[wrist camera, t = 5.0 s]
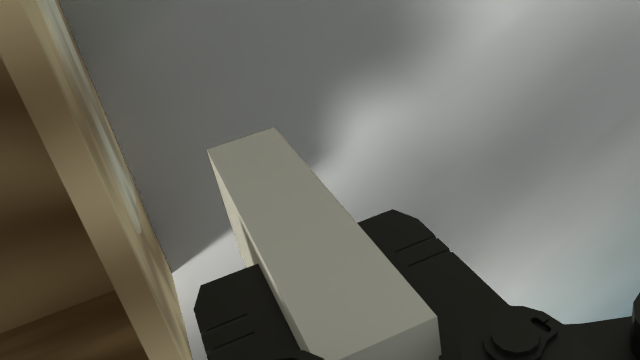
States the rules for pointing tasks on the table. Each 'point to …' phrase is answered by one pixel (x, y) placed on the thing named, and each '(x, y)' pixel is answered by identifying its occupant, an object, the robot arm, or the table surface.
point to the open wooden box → (71, 212)
